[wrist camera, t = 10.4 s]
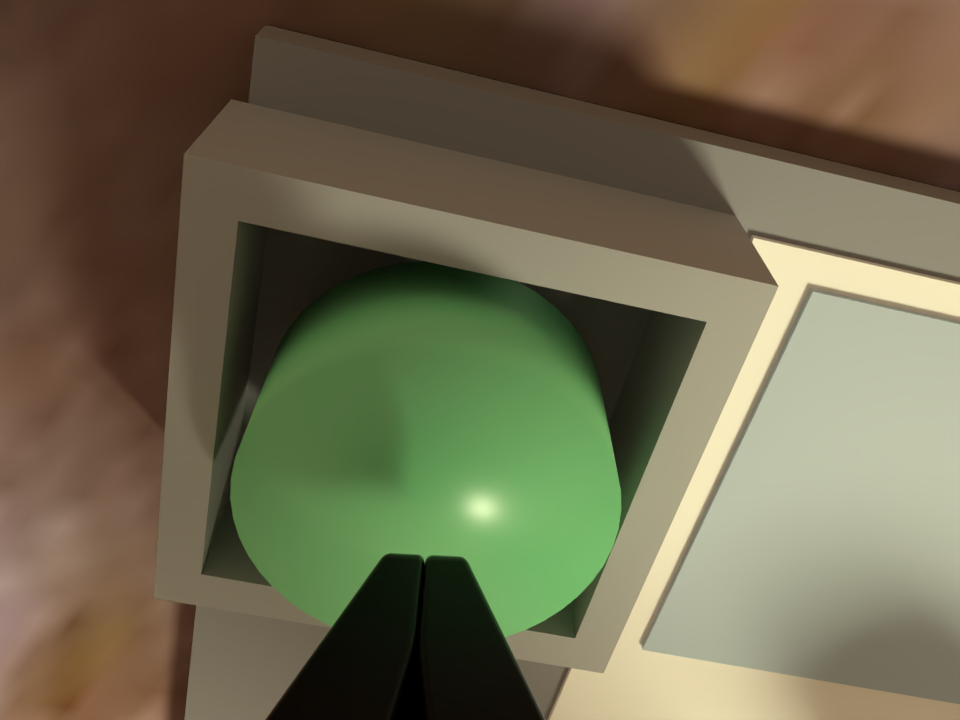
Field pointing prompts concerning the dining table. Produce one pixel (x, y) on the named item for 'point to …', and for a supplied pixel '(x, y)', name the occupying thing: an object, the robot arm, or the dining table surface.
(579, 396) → the button
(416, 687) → the robot arm
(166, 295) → the dining table surface
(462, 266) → the colouring board
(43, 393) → the dining table surface
